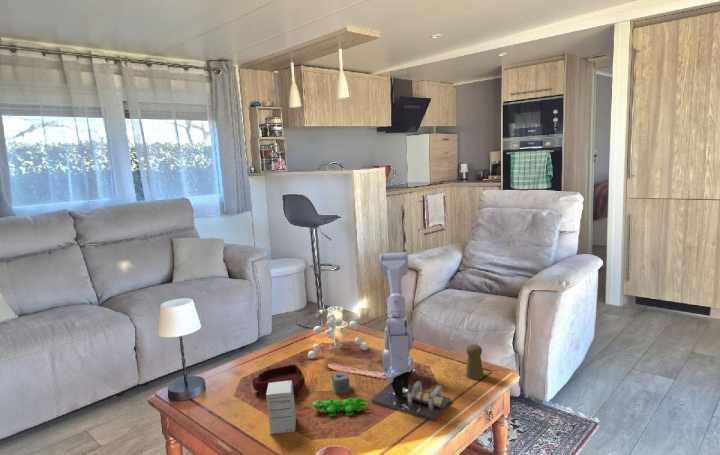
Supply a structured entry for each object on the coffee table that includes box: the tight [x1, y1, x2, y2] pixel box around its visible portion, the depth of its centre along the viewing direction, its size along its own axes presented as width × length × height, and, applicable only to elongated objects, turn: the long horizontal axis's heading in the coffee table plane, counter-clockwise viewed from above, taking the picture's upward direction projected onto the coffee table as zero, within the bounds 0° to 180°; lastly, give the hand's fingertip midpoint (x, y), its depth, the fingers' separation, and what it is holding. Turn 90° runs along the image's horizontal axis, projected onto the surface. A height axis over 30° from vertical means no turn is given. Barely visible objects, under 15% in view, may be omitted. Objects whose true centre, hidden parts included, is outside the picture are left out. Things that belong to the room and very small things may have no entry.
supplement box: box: [265, 381, 297, 435], centre depth 135 cm, size 7×7×13 cm
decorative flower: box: [307, 312, 369, 360], centre depth 186 cm, size 25×22×14 cm
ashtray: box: [252, 364, 306, 397], centre depth 159 cm, size 18×16×5 cm
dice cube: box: [331, 371, 351, 395], centre depth 155 cm, size 5×5×5 cm
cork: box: [465, 343, 485, 381], centre depth 157 cm, size 6×6×11 cm
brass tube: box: [393, 387, 443, 408], centre depth 143 cm, size 16×3×3 cm, turn 56°
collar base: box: [371, 380, 452, 422], centre depth 144 cm, size 22×12×6 cm, turn 56°
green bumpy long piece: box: [311, 397, 370, 417], centre depth 142 cm, size 7×18×4 cm, turn 88°
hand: (401, 393), depth 146 cm, fingers closed on brass tube, 3 cm apart
